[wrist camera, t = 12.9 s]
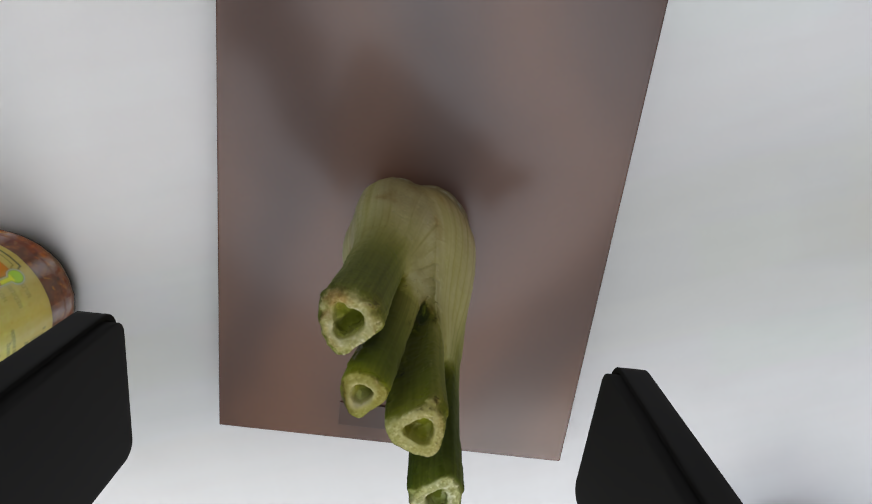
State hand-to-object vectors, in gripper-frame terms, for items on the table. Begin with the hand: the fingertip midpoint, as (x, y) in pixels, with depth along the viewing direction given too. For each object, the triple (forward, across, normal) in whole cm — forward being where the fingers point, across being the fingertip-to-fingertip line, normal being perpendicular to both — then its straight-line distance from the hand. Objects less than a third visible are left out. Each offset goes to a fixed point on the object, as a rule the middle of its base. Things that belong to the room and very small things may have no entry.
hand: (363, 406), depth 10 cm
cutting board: (+13, -1, 0) cm, 13 cm away
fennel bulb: (+12, -1, 0) cm, 12 cm away
